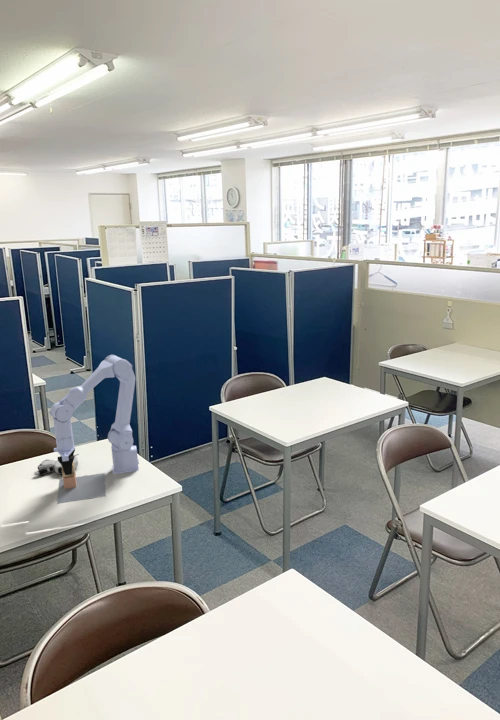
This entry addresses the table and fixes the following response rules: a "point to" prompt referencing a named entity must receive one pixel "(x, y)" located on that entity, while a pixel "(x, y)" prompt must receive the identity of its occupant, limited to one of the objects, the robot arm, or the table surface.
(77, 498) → the baseplate
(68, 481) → the base brick
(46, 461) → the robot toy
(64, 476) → the top brick
